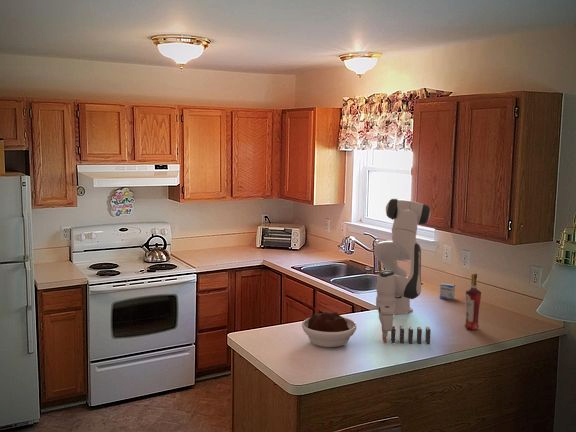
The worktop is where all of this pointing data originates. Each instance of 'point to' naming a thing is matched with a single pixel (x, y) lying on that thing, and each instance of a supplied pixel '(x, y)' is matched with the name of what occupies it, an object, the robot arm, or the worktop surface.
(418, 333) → the domino
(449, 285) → the medicine box
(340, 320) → the bowl of chocolate
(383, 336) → the domino
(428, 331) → the domino
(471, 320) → the liquor
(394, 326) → the domino
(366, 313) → the worktop surface
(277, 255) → the worktop surface
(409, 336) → the domino
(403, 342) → the domino
